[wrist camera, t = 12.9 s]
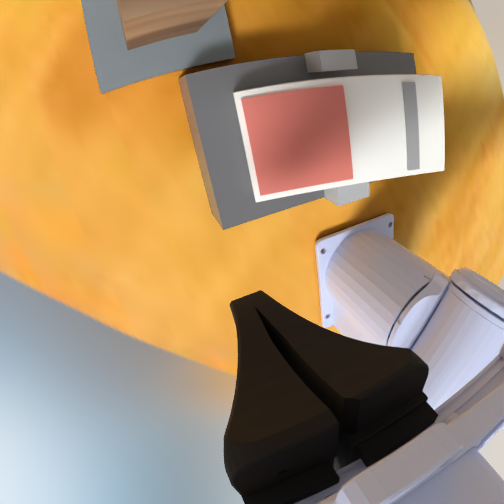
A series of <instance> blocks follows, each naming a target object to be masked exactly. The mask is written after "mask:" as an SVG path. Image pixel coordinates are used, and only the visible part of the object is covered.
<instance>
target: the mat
mask: <svg viewBox="0 0 504 504" xmlns="http://www.w3.org/2000/svg"><path fill="white" fill-rule="evenodd" d="M81 1H82V7H83V13H84V18H85V24H86V29H87V34H88V39H89V44H90V49H91V53H92V58H93V62H94V67H95V71H96V75H97V79H98V83H99V87H100V91H101V94H103V93H106V92H109V91H112V90H115V89H118V88H121V87H124V86H127V85H130V84H133V83H136V82H139V81H143V80H146V79H149V78H153V77H156V76H160V75H164V74H167V73H171V72H175V71H179V70H183V69H187V68H191V67H196V66H200V65H205V64H210V63H214V62H220V61H225V60H230V59H234V58H236V55H235V51H234V46H233V41H232V37H231V32H230V28H229V23H228V19H227V14H226V10H225V5H223V6H222V7H221V8H220V9H219V10H218V11H217V12H216V13H215V14H214V15H213V16H212V17H211V18H210V19H209V20H208V21H207V22H206V23H205V24H204V25H203V26H202V27H201V28H200V29H199V30H198V31H197V32H196V33H192V34H187V35H183V36H178V37H174V38H170V39H166V40H163V41H159V42H155V43H152V44H148V45H145V46H141V47H138V48H135V49H132V50H128V49H127V45H126V41H125V37H124V33H123V29H122V24H121V20H120V15H119V11H118V6H117V2H116V0H81Z"/></svg>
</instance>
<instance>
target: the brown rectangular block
mask: <svg viewBox="0 0 504 504" xmlns="http://www.w3.org/2000/svg"><path fill="white" fill-rule="evenodd" d="M227 1H228V0H116V2H117V6H118V11H119V15H120V20H121V24H122V29H123V33H124V37H125V41H126V45H127V49H128V50H132V49H135V48H138V47H141V46H145V45H148V44H152V43H155V42H159V41H163V40H166V39H170V38H174V37H178V36H183V35H187V34H192V33H196V32H197V31H198V30H199V29H200V28H201V27H202V26H203V25H204V24H205V23H206V22H207V21H208V20H209V19H210V18H211V17H212V16H213V15H214V14H215V13H216V12H217V11H218V10H219V9H220V8H221V7H222V6H223V5H224V4H225V3H226V2H227Z"/></svg>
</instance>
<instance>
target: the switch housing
mask: <svg viewBox="0 0 504 504" xmlns="http://www.w3.org/2000/svg"><path fill="white" fill-rule="evenodd" d="M387 74H416V69H415V61H414V54H413V53H401V52H355V49H342V50H321V51H314V52H308V53H304V55H298V56H289V57H280V58H272V59H265V60H258V61H251V62H245V63H239V64H234V65H228V66H223V67H218V68H213V69H208V70H204V71H199V72H195V73H191V74H186V75H184V76H182V77H181V78H179V79H178V80H179V84H180V88H181V92H182V97H183V101H184V105H185V109H186V113H187V117H188V121H189V125H190V130H191V134H192V138H193V142H194V146H195V150H196V154H197V157H198V161H199V165H200V169H201V173H202V177H203V181H204V185H205V189H206V192H207V196H208V200H209V204H210V208H211V211H212V214H213V216H214V217H215V219H216V220H217V222H218V223H219V224H220V226H221V227H222V229H223V230H225V229H228V228H231V227H234V226H237V225H240V224H243V223H246V222H249V221H252V220H255V219H258V218H261V217H264V216H267V215H270V214H273V213H276V212H279V211H282V210H285V209H288V208H291V207H294V206H298V205H301V204H304V203H307V202H310V201H313V200H316V199H320V198H323V197H325V199H327V200H329V201H331V202H332V203H334V204H336V205H337V206H341V205H344V204H347V203H350V202H353V201H356V200H359V199H362V198H365V197H369V183H371V182H375V181H371V182H365V183H359V184H353V185H347V186H341V187H335V188H329V189H324V190H318V191H313V192H307V193H302V194H297V195H292V196H286V197H281V198H276V199H271V200H266V201H261V202H256V201H255V197H254V192H253V187H252V182H251V177H250V172H249V168H248V163H247V158H246V153H245V148H244V143H243V138H242V134H241V129H240V124H239V119H238V115H237V110H236V105H235V100H234V96H233V92H236V91H241V90H246V89H252V88H257V87H263V86H269V85H275V84H282V83H289V82H297V81H305V80H313V79H323V78H333V77H346V76H362V75H387ZM377 181H378V180H377Z"/></svg>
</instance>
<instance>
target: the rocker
mask: <svg viewBox="0 0 504 504" xmlns="http://www.w3.org/2000/svg"><path fill="white" fill-rule="evenodd" d="M233 96H234V100H235V105H236V110H237V115H238V119H239V124H240V129H241V134H242V138H243V143H244V148H245V153H246V158H247V163H248V168H249V172H250V177H251V182H252V187H253V192H254V197H255V201H256V202H261V201H266V200H271V199H276V198H281V197H286V196H292V195H297V194H302V193H307V192H313V191H318V190H324V189H329V188H335V187H341V186H347V185H353V184H359V183H365V182H371V181H377V180H383V179H390V178H396V177H403V176H410V175H416V174H423V173H431V172H438V171H444V162H445V133H444V106H443V91H442V79H441V76H438V75H424V74H387V75H362V76H346V77H333V78H323V79H313V80H305V81H297V82H289V83H282V84H275V85H269V86H263V87H257V88H252V89H246V90H241V91H236V92H233Z"/></svg>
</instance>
